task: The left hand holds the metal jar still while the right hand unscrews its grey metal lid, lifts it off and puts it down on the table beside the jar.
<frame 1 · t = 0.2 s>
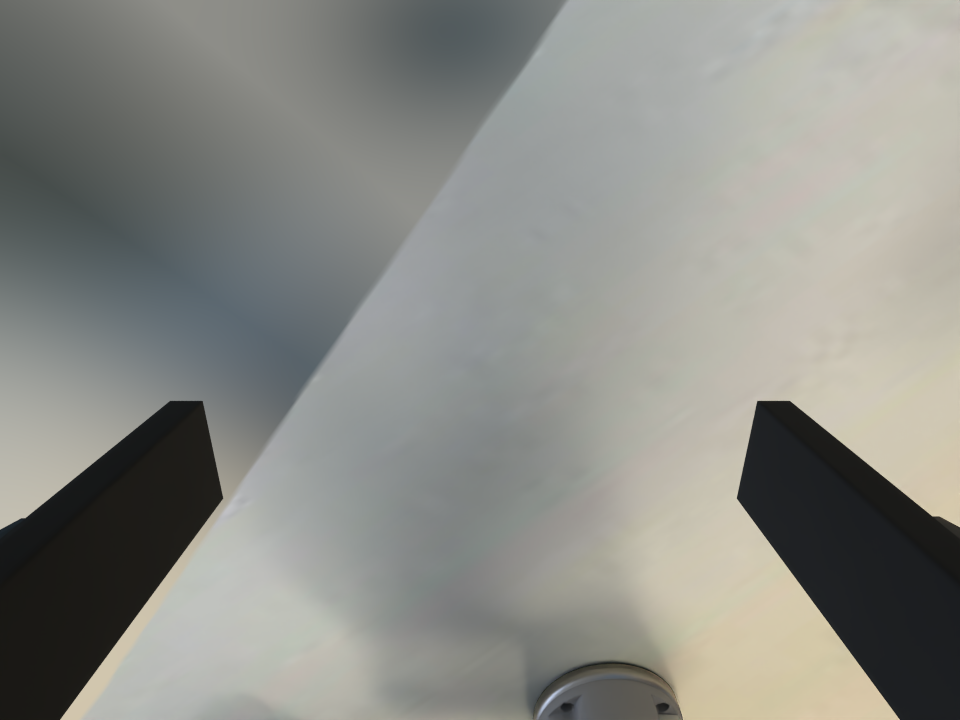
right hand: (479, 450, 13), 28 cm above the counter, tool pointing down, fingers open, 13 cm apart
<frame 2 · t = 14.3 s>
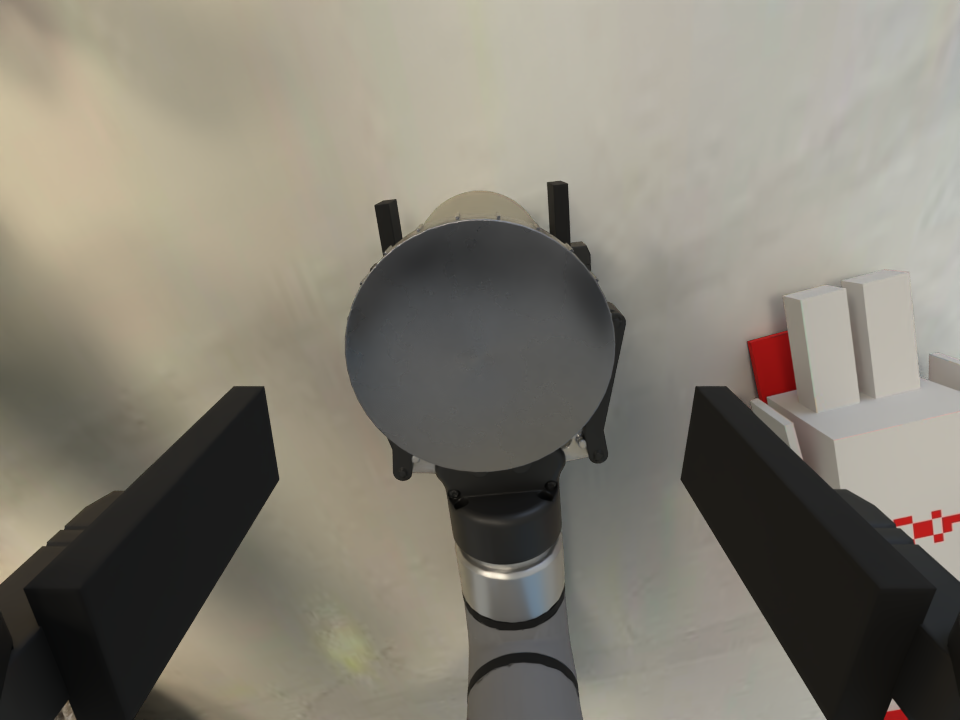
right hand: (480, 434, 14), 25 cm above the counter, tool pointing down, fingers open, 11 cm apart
left hand: (470, 192, 29), fingers closed on jar, 9 cm apart
toy: (814, 452, 42), on the counter
lid: (480, 353, 19), point 19 cm above the counter, screwed on, not yet turned
jar: (480, 256, 37), on the counter, touching left hand
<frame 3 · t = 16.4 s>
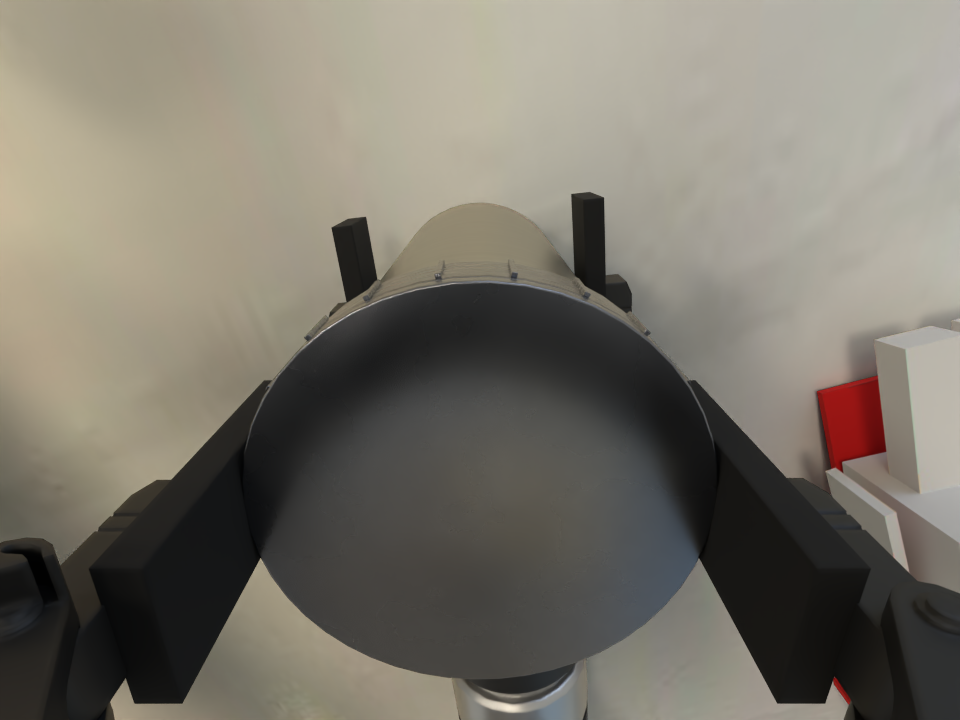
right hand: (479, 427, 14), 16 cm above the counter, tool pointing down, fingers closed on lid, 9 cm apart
toy: (892, 522, 34), on the counter
lid: (479, 502, 11), point 19 cm above the counter, screwed on, not yet turned, touching right hand
jar: (479, 285, 29), on the counter, touching left hand
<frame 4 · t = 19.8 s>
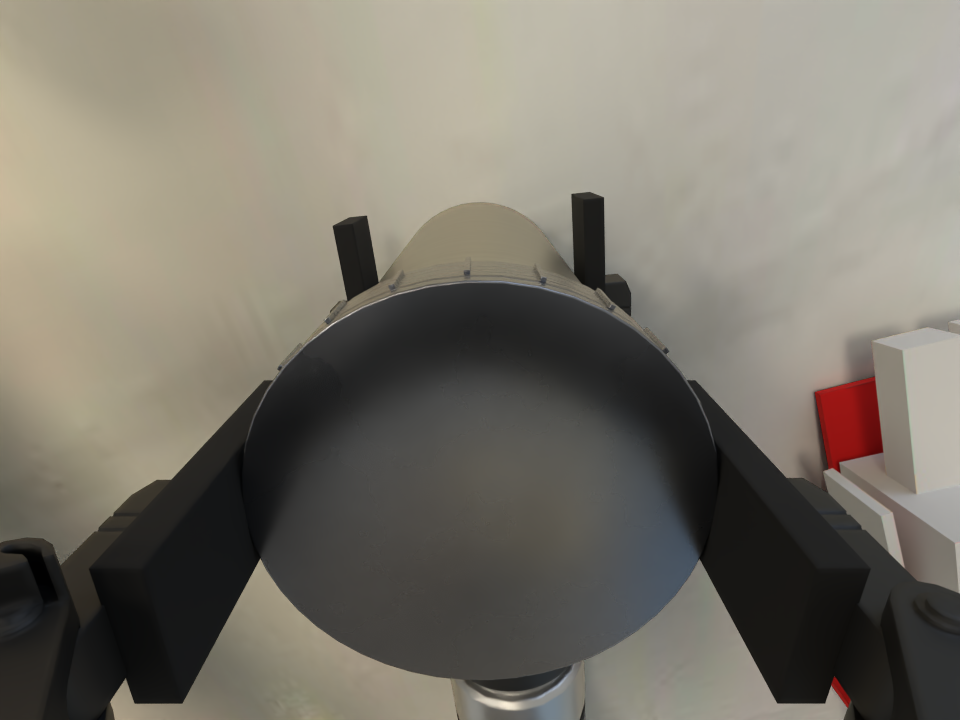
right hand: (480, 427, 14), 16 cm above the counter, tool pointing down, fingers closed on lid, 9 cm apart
toy: (889, 523, 34), on the counter
lid: (479, 502, 11), point 19 cm above the counter, turned 125° so far, risen 0.1 cm, still on its thread, touching right hand
jar: (479, 285, 29), on the counter, touching left hand
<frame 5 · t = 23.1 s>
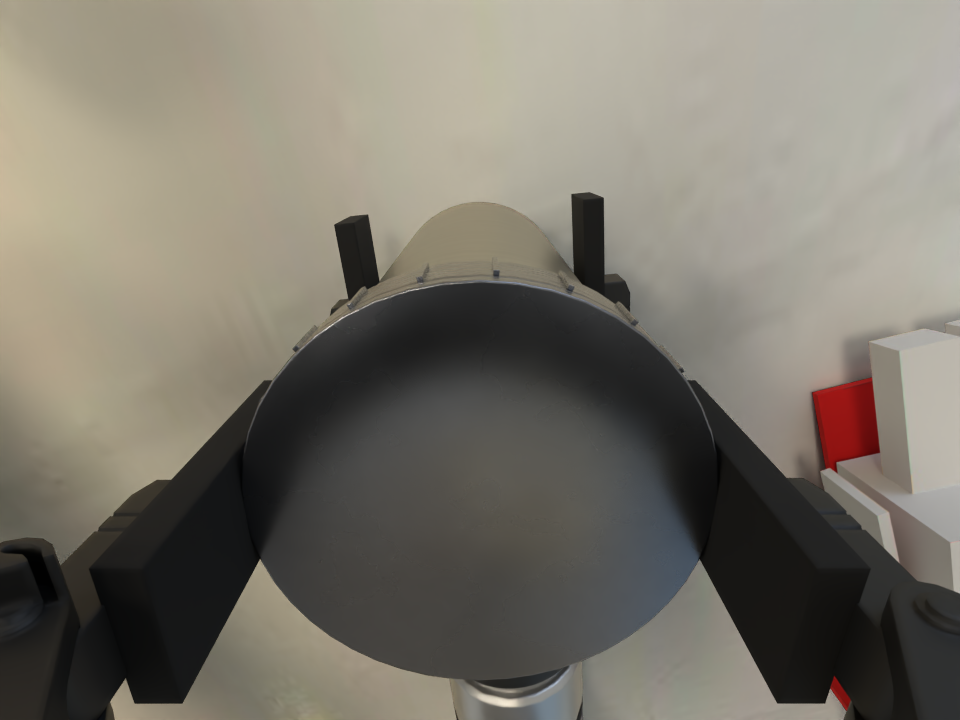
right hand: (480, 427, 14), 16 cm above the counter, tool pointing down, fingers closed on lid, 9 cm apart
toy: (886, 523, 35), on the counter
lid: (479, 502, 11), point 19 cm above the counter, turned 250° so far, risen 0.3 cm, still on its thread, touching right hand
jar: (479, 284, 29), on the counter, touching left hand
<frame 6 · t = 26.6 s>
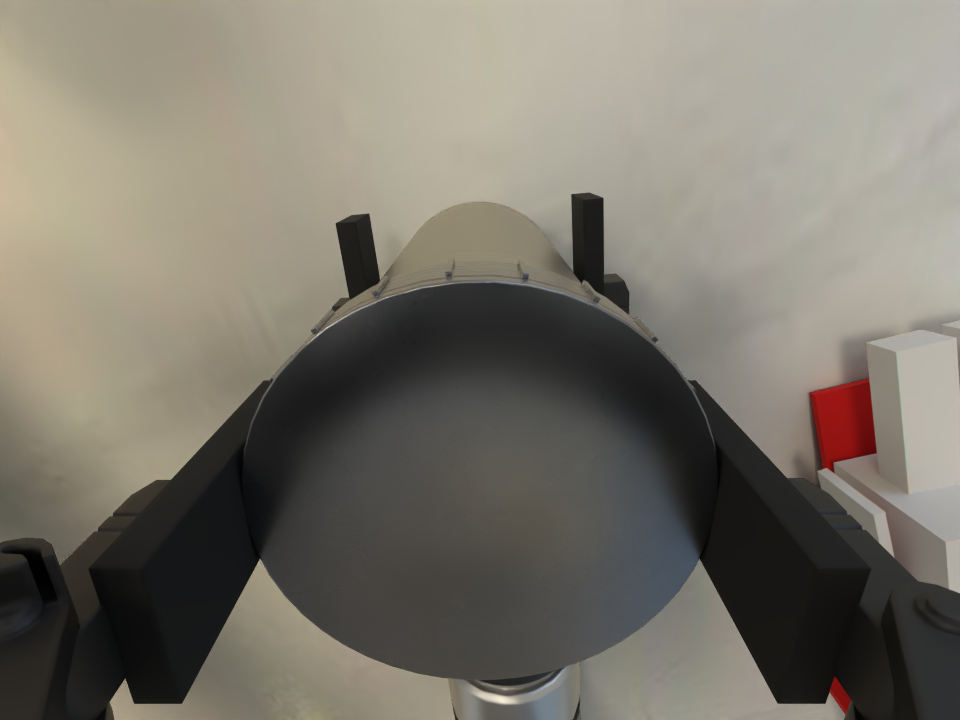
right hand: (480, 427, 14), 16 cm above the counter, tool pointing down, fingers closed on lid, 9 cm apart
toy: (882, 523, 35), on the counter
lid: (479, 502, 11), point 19 cm above the counter, turned 375° so far, risen 0.4 cm, still on its thread, touching right hand
jar: (479, 283, 29), on the counter, touching left hand
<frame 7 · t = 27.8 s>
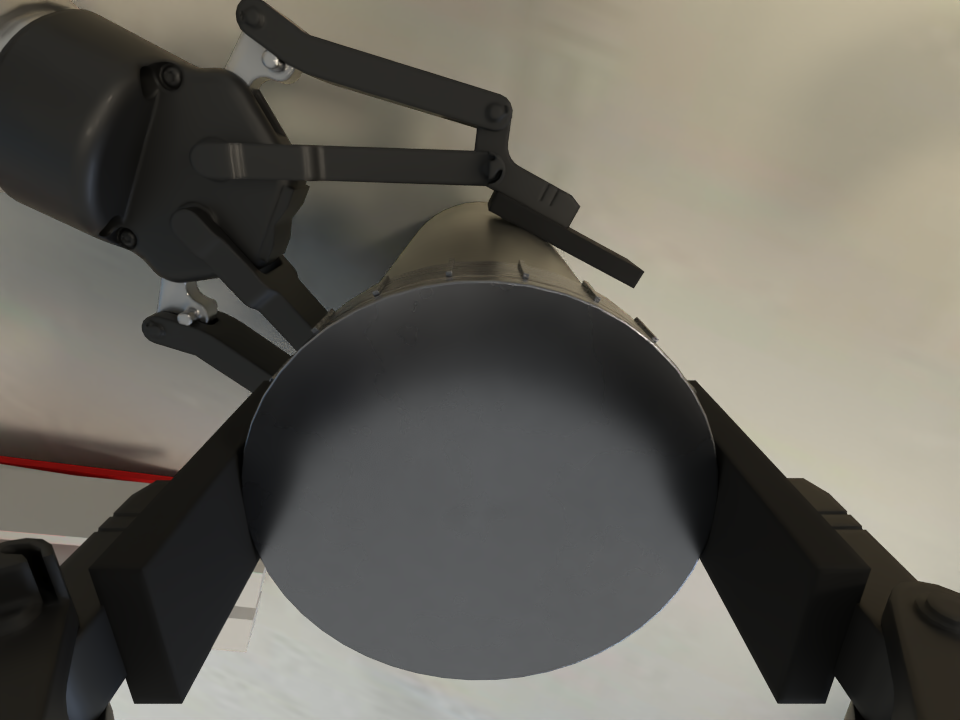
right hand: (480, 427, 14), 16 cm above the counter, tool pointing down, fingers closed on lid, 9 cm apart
left hand: (572, 364, 24), fingers closed on jar, 9 cm apart
toy: (48, 492, 34), on the counter
lid: (479, 502, 11), point 19 cm above the counter, off its thread, touching right hand
jar: (479, 283, 29), on the counter, touching left hand
when the right hand's fingers open (0 cm above the counter, at t = 33.2 s): lid stays where it is, point 1 cm above the counter.
when the left hand's fingers open (6 cm above the counter, at t = 34.8 s): jar stays where it is, on the counter.
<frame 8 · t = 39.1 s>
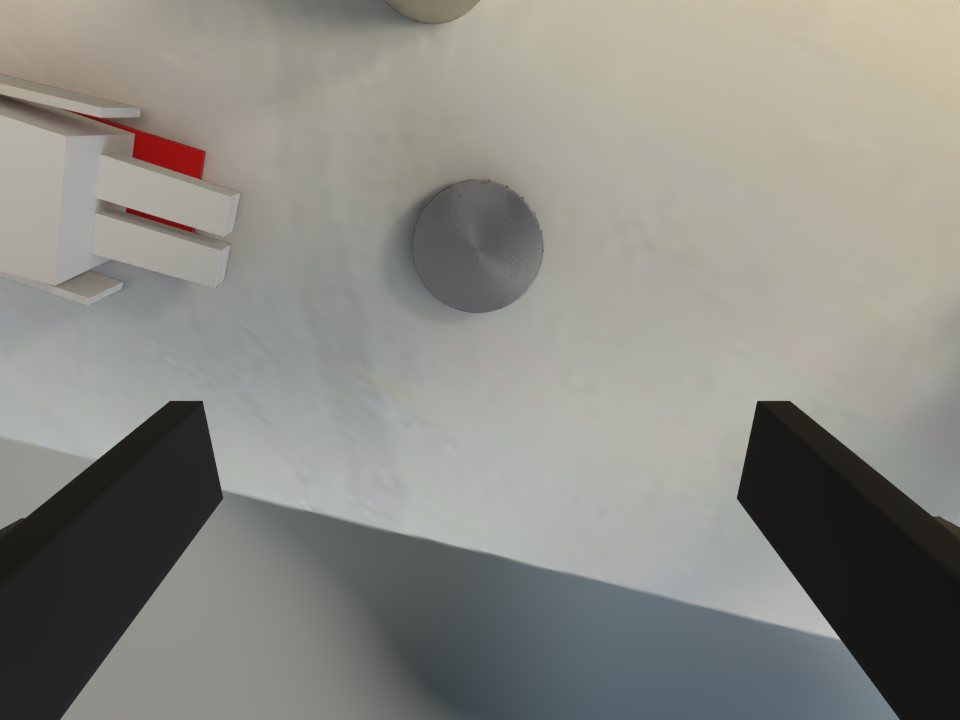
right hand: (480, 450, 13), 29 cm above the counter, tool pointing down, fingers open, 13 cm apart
toy: (41, 156, 38), on the counter
lid: (477, 249, 39), point 1 cm above the counter, off its thread
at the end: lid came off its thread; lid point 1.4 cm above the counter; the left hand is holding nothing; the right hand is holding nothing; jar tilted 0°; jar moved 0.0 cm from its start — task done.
